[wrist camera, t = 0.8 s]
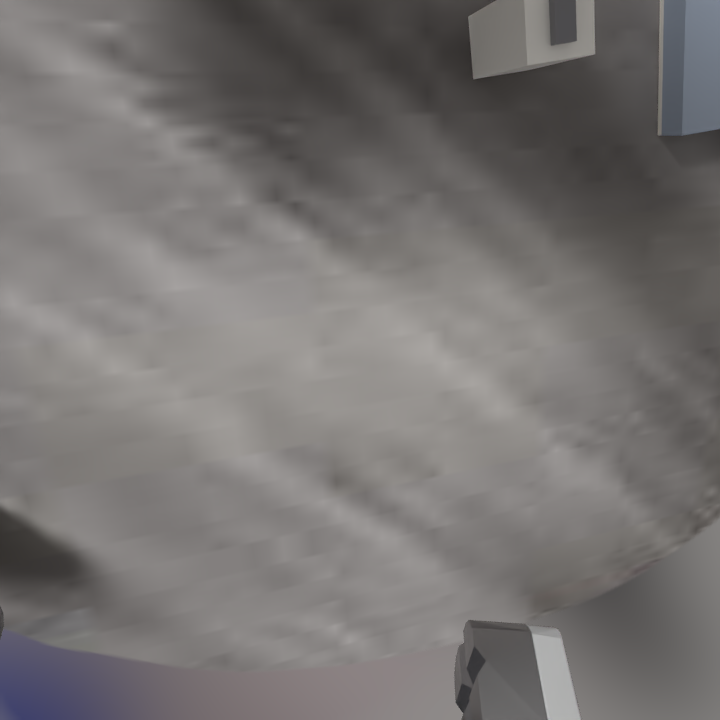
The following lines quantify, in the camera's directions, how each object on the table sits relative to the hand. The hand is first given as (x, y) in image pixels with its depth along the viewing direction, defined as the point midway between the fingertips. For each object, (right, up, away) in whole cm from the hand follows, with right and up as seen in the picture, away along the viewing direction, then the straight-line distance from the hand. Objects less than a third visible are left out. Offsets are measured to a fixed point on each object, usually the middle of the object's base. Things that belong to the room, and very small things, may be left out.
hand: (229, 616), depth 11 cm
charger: (+12, +27, +33) cm, 44 cm away
